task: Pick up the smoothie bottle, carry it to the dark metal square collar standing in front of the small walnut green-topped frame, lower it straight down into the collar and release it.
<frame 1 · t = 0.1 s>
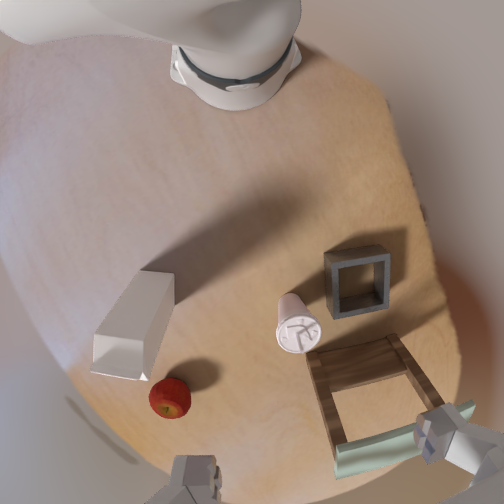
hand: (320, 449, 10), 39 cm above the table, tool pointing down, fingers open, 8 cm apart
socket: (353, 275, 50), on the table
apple: (173, 384, 57), on the table
smoothie: (289, 302, 52), on the table
milk: (157, 287, 50), on the table
green-topped frame: (352, 335, 54), on the table
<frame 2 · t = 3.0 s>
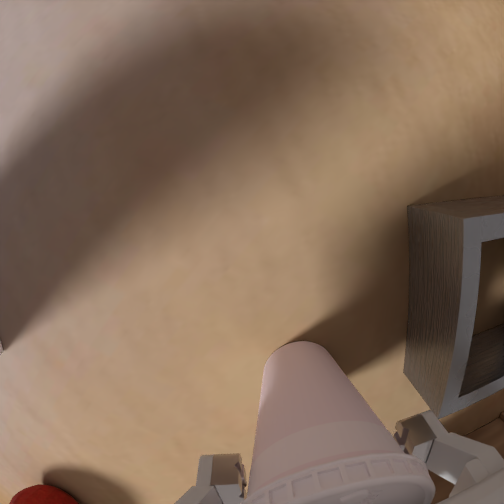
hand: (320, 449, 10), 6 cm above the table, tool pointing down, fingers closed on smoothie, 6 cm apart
socket: (474, 281, 15), on the table
apple: (61, 493, 19), on the table
smoothie: (298, 369, 16), on the table, touching gripper
green-topped frame: (445, 427, 18), on the table
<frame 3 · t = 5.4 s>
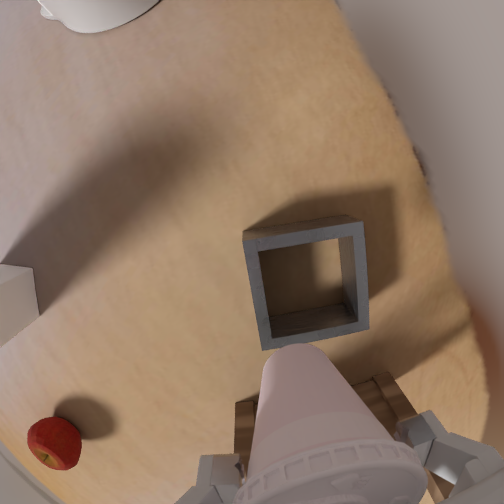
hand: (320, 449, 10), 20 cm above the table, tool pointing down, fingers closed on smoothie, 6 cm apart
socket: (302, 273, 29), on the table
apple: (65, 425, 34), on the table
smoothie: (296, 370, 16), point 14 cm above the table, touching gripper
milk: (19, 289, 29), on the table
green-topped frame: (313, 376, 32), on the table
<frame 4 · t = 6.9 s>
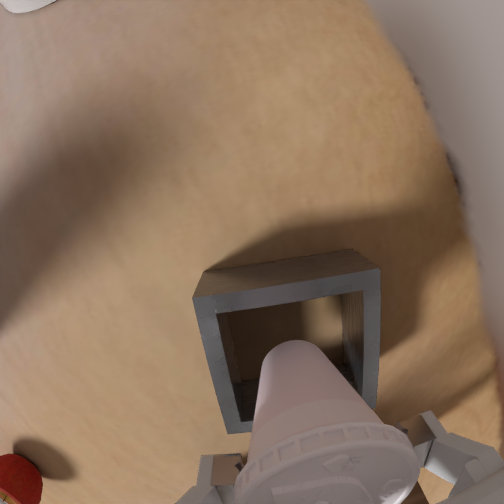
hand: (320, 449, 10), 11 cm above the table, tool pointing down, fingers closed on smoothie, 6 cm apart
socket: (287, 328, 21), on the table
apple: (26, 462, 25), on the table
smoothie: (293, 367, 17), point 4 cm above the table, touching gripper
green-topped frame: (300, 444, 23), on the table
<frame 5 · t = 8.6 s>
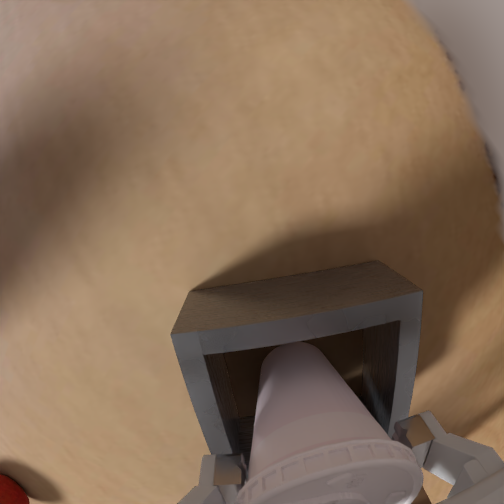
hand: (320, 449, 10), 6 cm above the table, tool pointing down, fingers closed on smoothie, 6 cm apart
socket: (296, 359, 16), on the table
apple: (12, 482, 21), on the table
smoothie: (293, 368, 17), resting in socket, touching gripper
when the fingers open (6 cm above the table, at t = 8.8 s): smoothie stays where it is, resting in socket.
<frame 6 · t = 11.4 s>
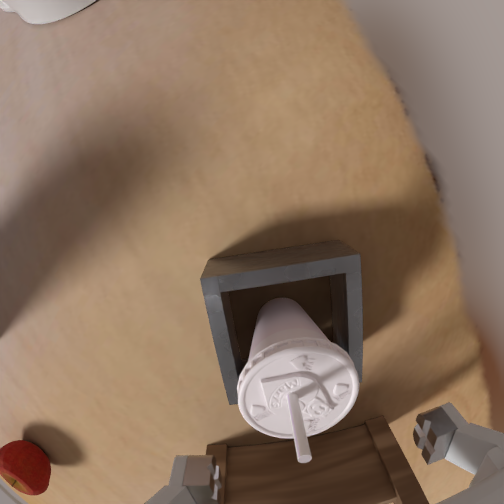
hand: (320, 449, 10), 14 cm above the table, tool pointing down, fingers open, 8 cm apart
socket: (282, 310, 24), on the table
apple: (35, 449, 28), on the table
smoothie: (280, 318, 24), resting in socket
green-topped frame: (295, 422, 26), on the table
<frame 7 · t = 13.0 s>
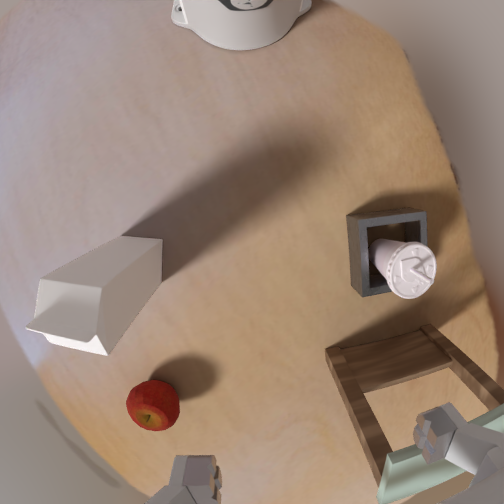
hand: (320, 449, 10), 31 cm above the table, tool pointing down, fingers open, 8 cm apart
socket: (381, 246, 40), on the table
apple: (159, 389, 45), on the table
smoothie: (379, 251, 41), resting in socket
milk: (141, 258, 40), on the table
green-topped frame: (382, 325, 43), on the table
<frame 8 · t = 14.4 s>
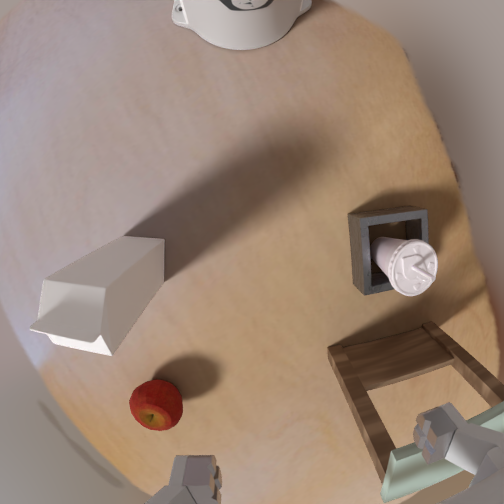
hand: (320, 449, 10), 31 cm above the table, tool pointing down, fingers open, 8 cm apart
socket: (383, 244, 40), on the table
apple: (162, 388, 45), on the table
smoothie: (381, 249, 41), resting in socket
milk: (143, 258, 40), on the table
green-topped frame: (384, 323, 43), on the table
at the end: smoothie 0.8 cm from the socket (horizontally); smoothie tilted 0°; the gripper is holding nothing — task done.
